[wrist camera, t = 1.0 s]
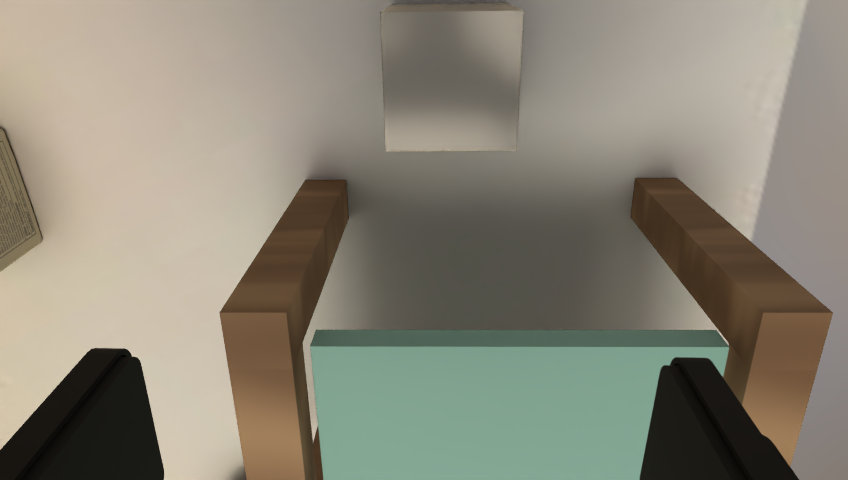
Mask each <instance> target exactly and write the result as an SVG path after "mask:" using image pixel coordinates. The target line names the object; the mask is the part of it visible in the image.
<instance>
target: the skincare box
mask: <svg viewBox="0 0 848 480" xmlns="http://www.w3.org/2000/svg"><path fill="white" fill-rule="evenodd" d="M41 240H42V237H41V234H40V231H39V228H38V225H37V222H36V219H35V216H34V213H33V210H32V207H31V204H30V201H29V198H28V196H27V193H26V190H25V187H24V185H23V182H22V179H21V176H20V173H19V170H18V167H17V165H16V161H15V158H14V156H13V153H12V151H11V149H10V146H9V143H8V141H7V138H6V136H5V133H4V131H3V129H1V128H0V272H1V271H2V270H3V269H5V268H6V267H7V266H9V265H10V264H12V263H13V262H14V261H16V260H17V259H18V258H20V257H21V256H22V255H24V254H25V253H27V252H28V251H29V250H31V249H32V248H34V247H35V246H36V245H38V244H39V243H40V242H41Z"/></svg>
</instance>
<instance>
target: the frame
mask: <svg viewBox="0 0 848 480" xmlns="http://www.w3.org/2000/svg"><path fill="white" fill-rule="evenodd" d="M631 218H632V220H633V221H634V222H635V223H636V225H637V226H638V227H639V229H640V230H641V231H642V232H643V234H644V235H645V236H646V238H647V239H648V240H649V241H650V243H651V244H652V245H653V247H654V248H655V249H656V250H657V252H658V253H659V254H660V256H661V257H662V258H663V259H664V261H665V262H666V263H667V264H668V266H669V267H670V268H671V270H672V271H673V272H674V273H675V275H676V276H677V277H678V279H679V280H680V281H681V282H682V284H683V285H684V286H685V288H686V289H687V290H688V291H689V293H690V294H691V295H692V296H693V298H694V299H695V300H696V302H697V303H698V304H699V305H700V307H701V308H702V309H703V311H704V312H705V313H706V314H707V316H708V317H709V318H710V320H711V321H712V322H713V323H714V325H715V326H716V327H717V328H718V330H719V331H720V332H721V334H722V335H723V336H724V337H725V339H726V340H727V341H728V343H729V351H728V356H727V361H726V366H725V371H724V375H723V378H724V380H725V381H726V383H727V384H728V386H729V387H730V389H731V390H732V391H733V393H734V394H735V396H736V397H737V399H738V400H739V402H740V403H741V405H742V406H743V408H744V409H745V410H746V412H747V413H748V415H749V416H750V418H751V419H752V421H753V422H754V424H755V425H756V427H757V428H758V430H759V431H760V432H761V434H762V435H764V436H766V437H768V438H769V439H770V440H771V441H772V442H773V443H774V445H775V446H776V447H777V449H778V450H779V452H780V453H781V455H782V456H783V458H784V459H785V460H786V462H787V463H788V465H789V466H790V465H791V462H792V458H793V455H794V451H795V447H796V444H797V440H798V437H799V433H800V429H801V426H802V422H803V419H804V415H805V411H806V408H807V404H808V401H809V397H810V393H811V390H812V386H813V383H814V379H815V375H816V372H817V368H818V365H819V361H820V357H821V354H822V350H823V346H824V343H825V339H826V336H827V332H828V329H829V325H830V321H831V318H832V314H833V312H831V311H830V310H829V309H828V308H827V307H826V306H824V305H823V304H822V303H821V302H820V301H819V300H817V299H816V298H815V297H814V296H813V295H812V294H810V293H809V292H808V291H807V290H806V289H805V288H804V287H802V286H801V285H800V284H799V283H798V282H797V281H796V280H794V279H793V278H792V277H791V276H790V275H789V274H787V273H786V272H785V271H784V270H783V269H782V268H781V267H779V266H778V265H777V264H776V263H775V262H774V261H772V260H771V259H770V258H769V257H767V255H766V254H764V253H763V252H762V251H761V250H760V249H758V248H757V247H756V246H755V245H754V244H753V243H752V242H750V241H749V240H748V239H747V238H746V237H745V236H744V235H742V234H741V233H740V232H739V231H738V230H737V229H735V228H734V227H733V226H732V225H731V224H730V223H729V222H727V221H726V220H725V219H724V218H723V217H722V216H720V215H719V214H718V213H717V212H716V211H715V210H713V209H712V208H711V207H710V206H709V205H708V204H707V203H705V202H704V201H703V200H702V199H701V198H700V197H698V196H697V195H696V194H695V193H694V192H693V191H691V190H690V189H689V188H688V187H687V186H686V185H685V184H683V183H682V182H681V181H680V180H679V179H678V178H635V185H634V193H633V201H632V209H631ZM348 219H349V216H348V200H347V185H346V180H305V182H304V183H303V185H302V186H301V188H300V189H299V191H298V192H297V194H296V196H295V197H294V199H293V200H292V202H291V203H290V205H289V206H288V208H287V209H286V211H285V212H284V214H283V216H282V217H281V219H280V220H279V222H278V223H277V225H276V226H275V228H274V229H273V231H272V233H271V234H270V236H269V237H268V239H267V240H266V242H265V243H264V245H263V246H262V248H261V250H260V251H259V253H258V254H257V256H256V257H255V259H254V260H253V262H252V263H251V265H250V267H249V268H248V270H247V271H246V273H245V274H244V276H243V277H242V279H241V280H240V282H239V283H238V285H237V287H236V288H235V290H234V291H233V293H232V294H231V296H230V297H229V299H228V300H227V302H226V304H225V305H224V307H223V308H222V310H221V311H220V318H221V324H222V331H223V337H224V343H225V349H226V355H227V362H228V368H229V374H230V380H231V386H232V393H233V399H234V405H235V411H236V418H237V424H238V430H239V436H240V442H241V449H242V455H243V461H244V467H245V473H246V480H323V470H322V460H321V449H320V439H319V429H318V427H317V431H316V435H315V438H314V442H313V440H312V431H311V421H310V411H309V402H308V392H307V383H306V373H305V363H304V354H303V344H302V342H303V340H304V337H305V334H306V332H307V329H308V326H309V324H310V321H311V318H312V316H313V313H314V310H315V307H316V305H317V302H318V299H319V297H320V294H321V291H322V289H323V286H324V283H325V280H326V278H327V275H328V272H329V270H330V267H331V264H332V262H333V259H334V256H335V254H336V251H337V248H338V245H339V243H340V240H341V237H342V235H343V232H344V229H345V227H346V224H347V221H348Z"/></svg>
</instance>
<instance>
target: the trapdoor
mask: <svg viewBox="0 0 848 480" xmlns="http://www.w3.org/2000/svg"><path fill="white" fill-rule="evenodd" d="M310 348H311V358H312V368H313V378H314V389H315V399H316V409H317V419H318V429H319V439H320V449H321V460H322V470H323V480H639V479H640V473H641V468H642V463H643V457H644V452H645V447H646V442H647V436H648V431H649V426H650V421H651V416H652V410H653V405H654V400H655V395H656V390H657V384H658V379H659V374H660V370H661V368H662V366H664V365H670V363H671V361H672V359H673V358H675V357H696V358H709V359H710V360H711V361H712V362H713V364H714V365H715V367H716V368H717V370H718V371H719V372H720V374H721V375H722V377H723V375H724V371H725V366H726V361H727V356H728V351H729V346H728V345H727V343H726V342H725V341H724V340H723V338H722V337H721V336H720V334H719V333H718V332H717V330H316V332H315V335H314V337H313V340H312V343H311V346H310Z"/></svg>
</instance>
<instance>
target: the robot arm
mask: <svg viewBox="0 0 848 480" xmlns="http://www.w3.org/2000/svg"><path fill="white" fill-rule="evenodd" d="M0 480H164V468H163V464H162V459H161V454H160V450H159V445H158V441H157V436H156V431H155V427H154V422H153V417H152V413H151V408H150V403H149V399H148V394H147V390H146V385H145V380H144V376H143V371H142V366H141V363H140V360H139V359H138V358H137V357H132V356H131V353H130V352H129V351H128V350H127V349H111V348H94V349H91V350H90V351H89V352H87V353H86V355H85V356H84V357H83V358H82V359H81V360H80V361H79V362H78V364H77V365H76V366H75V367H74V368H73V369H72V370H71V371H70V373H69V374H68V375H67V376H66V377H65V378H64V379H63V380H62V381H61V383H60V384H59V385H58V386H57V387H56V388H55V389H54V390H53V392H52V393H51V394H50V395H49V396H48V397H47V398H46V399H45V401H44V402H43V403H42V404H41V405H40V406H39V407H38V408H37V410H36V411H35V412H34V413H33V414H32V415H31V416H30V417H29V418H28V420H27V421H26V422H25V423H24V424H23V425H22V426H21V427H20V429H19V430H18V431H17V432H16V433H15V434H14V435H13V436H12V438H11V439H10V440H9V441H8V442H7V443H6V444H5V445H4V446H3V448H2V449H1V450H0ZM639 480H799V479H798V478H797V476H796V475H795V473H794V472H793V470H792V469H791V468H790V466H789V465H788V463H787V462H786V460H785V459H784V458H783V456H782V455H781V453H780V452H779V450H778V449H777V447H776V446H775V445H774V443H773V442H772V441H771V440H770V439H769V438H768V437H766V436H764V435H762V434H761V432H760V431H759V430H758V428H757V427H756V425H755V424H754V422H753V421H752V419H751V418H750V416H749V415H748V413H747V412H746V410H745V409H744V408H743V406H742V405H741V403H740V402H739V400H738V399H737V397H736V396H735V394H734V393H733V391H732V390H731V389H730V387H729V386H728V384H727V383H726V381H725V380H724V378H723V377H722V375H721V374H720V372H719V371H718V370H717V368H716V367H715V365H714V364H713V362H712V361H711V360H710V359H709V358H696V357H675V358H673V359H672V361H671V363H670V365H664V366H662V368H661V370H660V374H659V379H658V384H657V390H656V395H655V400H654V405H653V410H652V416H651V421H650V426H649V431H648V436H647V442H646V447H645V452H644V457H643V463H642V468H641V473H640V479H639Z"/></svg>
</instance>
